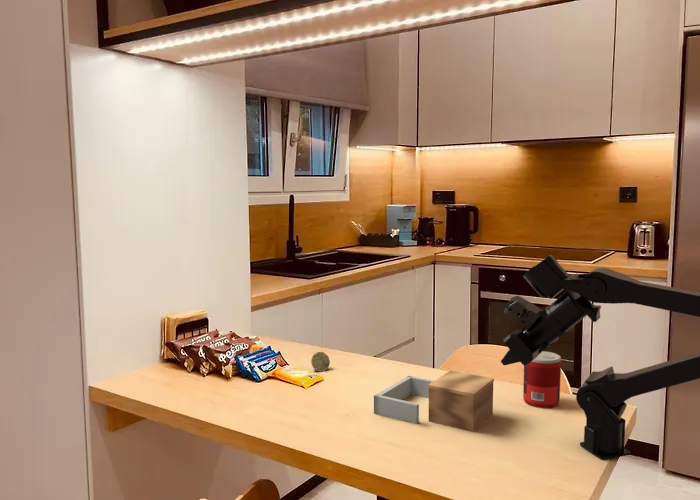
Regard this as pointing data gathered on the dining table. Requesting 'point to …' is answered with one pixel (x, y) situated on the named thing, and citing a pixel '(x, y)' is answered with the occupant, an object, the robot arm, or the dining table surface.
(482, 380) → the tea box
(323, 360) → the olive speckled ball
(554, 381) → the canned food
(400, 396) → the bay
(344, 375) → the dining table surface
